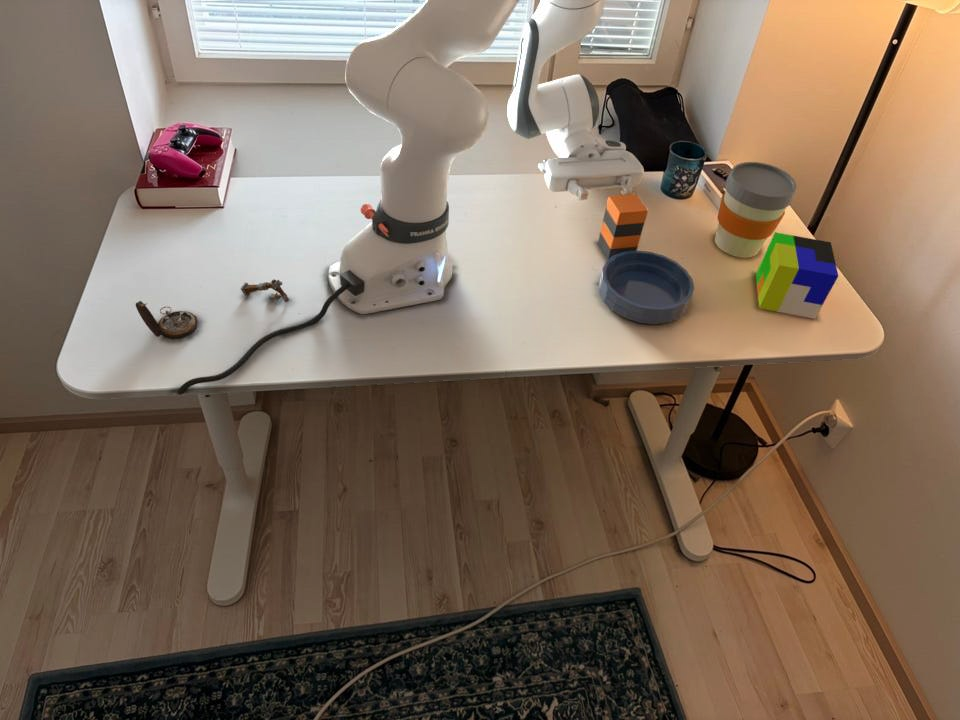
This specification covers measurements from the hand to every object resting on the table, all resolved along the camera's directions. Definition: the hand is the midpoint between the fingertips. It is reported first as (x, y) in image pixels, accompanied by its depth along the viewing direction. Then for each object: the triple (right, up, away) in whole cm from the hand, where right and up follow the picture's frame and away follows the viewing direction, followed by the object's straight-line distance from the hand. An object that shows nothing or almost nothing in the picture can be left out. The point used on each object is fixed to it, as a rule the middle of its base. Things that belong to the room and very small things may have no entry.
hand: (606, 195), depth 142 cm
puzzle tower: (+2, -11, -1) cm, 11 cm away
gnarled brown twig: (-62, -22, -17) cm, 68 cm away
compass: (-75, -27, -24) cm, 83 cm away
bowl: (+5, -21, -10) cm, 23 cm away
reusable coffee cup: (+27, -9, +4) cm, 29 cm away
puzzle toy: (+32, -21, -7) cm, 39 cm away
